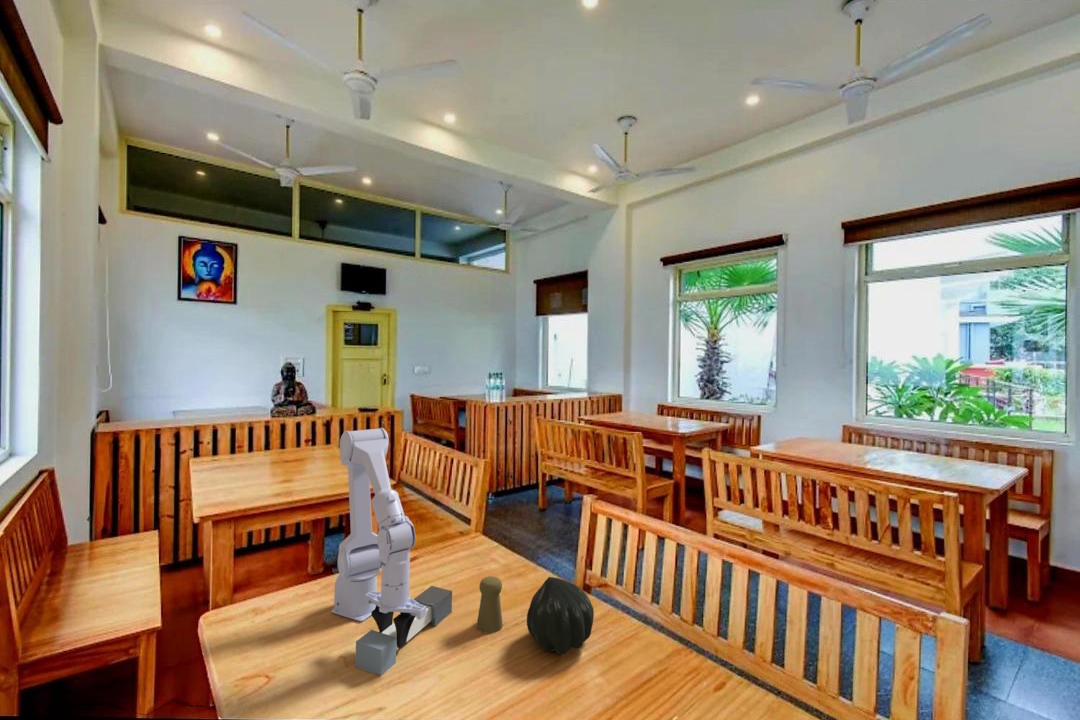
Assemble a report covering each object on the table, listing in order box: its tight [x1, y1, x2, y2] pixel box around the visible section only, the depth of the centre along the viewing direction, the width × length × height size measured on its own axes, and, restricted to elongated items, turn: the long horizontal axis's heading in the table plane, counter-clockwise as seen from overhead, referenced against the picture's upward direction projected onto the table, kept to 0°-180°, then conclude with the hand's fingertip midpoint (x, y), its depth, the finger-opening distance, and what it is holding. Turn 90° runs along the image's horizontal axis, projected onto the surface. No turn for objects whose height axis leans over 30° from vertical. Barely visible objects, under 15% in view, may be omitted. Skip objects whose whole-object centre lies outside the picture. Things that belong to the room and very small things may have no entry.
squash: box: [526, 576, 595, 655], centre depth 110 cm, size 14×15×15 cm
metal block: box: [413, 585, 453, 627], centre depth 119 cm, size 6×7×5 cm
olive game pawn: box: [476, 575, 504, 634], centre depth 115 cm, size 6×6×11 cm
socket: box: [355, 629, 397, 677], centre depth 100 cm, size 6×4×5 cm
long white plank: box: [382, 602, 433, 652], centre depth 108 cm, size 4×19×4 cm, turn 157°
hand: (394, 642), depth 105 cm, fingers closed on long white plank, 3 cm apart
